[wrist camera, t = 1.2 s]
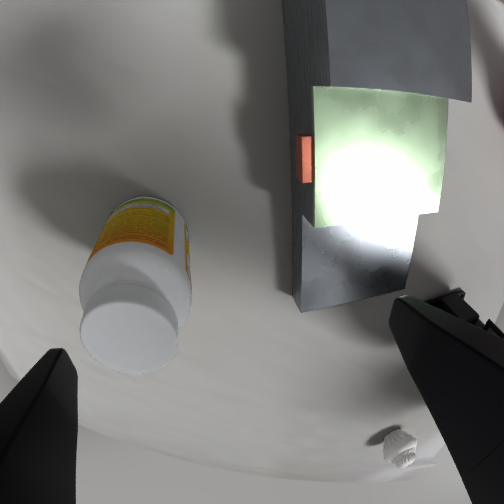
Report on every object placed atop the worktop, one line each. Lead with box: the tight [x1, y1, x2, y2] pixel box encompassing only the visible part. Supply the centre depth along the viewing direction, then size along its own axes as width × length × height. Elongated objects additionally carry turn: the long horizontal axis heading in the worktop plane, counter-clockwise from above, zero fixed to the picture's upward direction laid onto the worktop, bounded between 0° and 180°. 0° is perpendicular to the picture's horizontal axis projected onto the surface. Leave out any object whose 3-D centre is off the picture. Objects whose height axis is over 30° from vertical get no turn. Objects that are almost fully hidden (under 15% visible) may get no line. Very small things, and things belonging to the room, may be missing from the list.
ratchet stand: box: [282, 0, 472, 313], centre depth 17 cm, size 22×10×6 cm, turn 4°
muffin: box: [383, 429, 417, 468], centre depth 41 cm, size 6×6×7 cm
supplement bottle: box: [79, 197, 192, 374], centre depth 16 cm, size 5×5×10 cm
